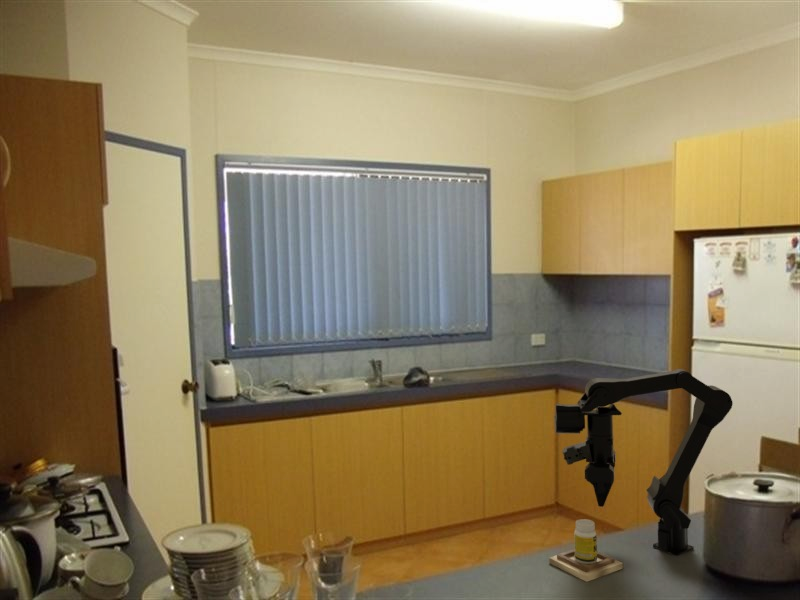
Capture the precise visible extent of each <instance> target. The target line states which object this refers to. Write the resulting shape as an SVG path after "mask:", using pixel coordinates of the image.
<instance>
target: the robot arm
mask: <svg viewBox="0 0 800 600" xmlns="http://www.w3.org/2000/svg"><path fill="white" fill-rule="evenodd" d="M677 389H682V390H684V391H686V392H687V393H688V394H690V395H692V396H693V397H694V398H695V400H694V404H693V411H692V412H693V413H692V419H691V422H690V424H689V425H688V428H687V430H686V432H685V434H684V436H683V438H682V440H681V442H680V444H679V445H678V448H677V450H676V452H675V454H674V456H673V459H672V460H671V462H670V464H669V466H668V468H667V471H666V472H665V474H663V475H662V476H661V477H660V478H659V477H657V476H655V475H654V476H653V477H652V479H651V480H652V481H651V483H650V486H649V487H648V488H646V492H647V496H646V500H647V502H648V505H649V506H650V507H651V509H652V511H653V512H654V514H655V515H656V516H657V517H658V518H659V521H658V522H657V525H658V528H657V542H654V543H653V544H652V547H654V548H655V549H659V550H661V551H664V552H665V553H666V552H667V553H668V554H671V555H674V556H679V555H682V554H685V553H687V552H690V551H692V550H694V549H695V547H694V546H693V545H691V544H689V540H688V539H689V537H688V534H689V533H688V529H689V527H690V524H691V520H692V519H691V518H690V517H689V515H688V514H687V513H686V512H685V511H684V508H682V504H683V501H684V492H685V484H686V482H687V480H688V479H689V477H690V474H691V472H692V470H693V469H694V466H695V464H696V462H697V461H698V458H699V456H700V454H701V453H702V450H703V449H704V447H705V444H706V442H707V440H708V439H709V437H710V434H711V432H712V430H713V429H714V428H716V426H718V425H719V424H720V423H722V422H723V420H724V419H725V418H726V417H727V415H729V412H730V411H731V409H732V407H733V400H732V397H731V395H730V394H729V393H728V392H727V391H725V390H723V389H721V388H719V387H717V386H714V385H707V384H705V382H702V381H701V380H700V379H698V378H697V377H695V376H693V375H692V373H690V372H689V371H687V370H685V369H683V368H677V369H674V370H671V371H664V372H659V373H652V374H645V375H640V376H634V377H628V378H615V377H614V378H611V377H596V378H591V379H590V380H589V381H588V382H587V383H586V385H585V388H584V390H585V392H584V393H583V394H582V396H581V397H580V398H579V400H578V401H577V403H576V404H563V403H556V404H554V406H555V409H554V410H555V411H554V416H553V418H554V419H553V420H554V422H553V423H554V424H553V425H554V431H555V432H554V433H555V434H581V432H583V431H584V430H585V429H587V434H586V435H587V436H586V439H585V441H582V442H578V443H575V444H572V445H568V446H566V447H564V448H563V449H562V454H563V460H565V462H566V464H567V465H569V466H570V465H573V464H574V463H577V462H580V461H584V460H585V463H588V464H587V465H586V466H585V467H584V479H585V481H586V482H588V483H589V484H591V486H592V487H593V490H594V494H595V498H596V501H597V506H598V507H602V508H603V507H604V506H605V504H606V501H607V499H608V496H609V493H610V492H611V489H612V486H613V484H614V481H615V466H616V458H617V457H616V451H615V449H614V423H613V421H614V420H613V416H621V415H622V412H621V410H620V409H619V408H617V406H616V405H615V404H616V403H618V402H620V401H623V400H624V399H626V398H629V397H635V396H640V395H646V394H648V395H649V394H654V393H660V392H665V391H670V390H677ZM586 423H587V424H586ZM586 427H587V428H586Z"/></svg>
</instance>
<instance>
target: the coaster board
mask: <svg viewBox="0 0 800 600" xmlns="http://www.w3.org/2000/svg"><path fill="white" fill-rule="evenodd" d="M548 564H550V565H552V566H554V567H556V568H559V569H561V570H562V571H564V572H566V573H568V574H570V575H572V576H574V577H576V578H577V579H580V580H582V581H584V582H586V583H587V582H590V581H593V580H595V579H598V578H601V577H604V576H607V575H609V574H612V573H614V572H618V571H619V570H622V569H623V568H624V563H623V562H621V561H620V560H617V559H615V558H614V557H612V556H609V555H607V554H606V553H603V552H601V551H599V550H597V561H596V563H593V564H582V563H579V562H577V561H576V560H575V548H573V549H570V550H566V551H563V552H561V553H558V554H556V555H554V556H551V557H549V558H548Z"/></svg>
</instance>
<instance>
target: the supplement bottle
mask: <svg viewBox="0 0 800 600" xmlns="http://www.w3.org/2000/svg"><path fill="white" fill-rule="evenodd" d="M595 526H596V525H595V522H594V521H593V520H591V519H585V518H581V519H577V520H576V521H575V530H574V535H573V536H574V537H573V538H574V539H573V540H574V549H575V560H576V561H577V562H579V563H582V564H593V563H596V561H597V551H598V544H597V540H598V539H597V538H598V537H597V531H596V530H595V529H596V528H595Z"/></svg>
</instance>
